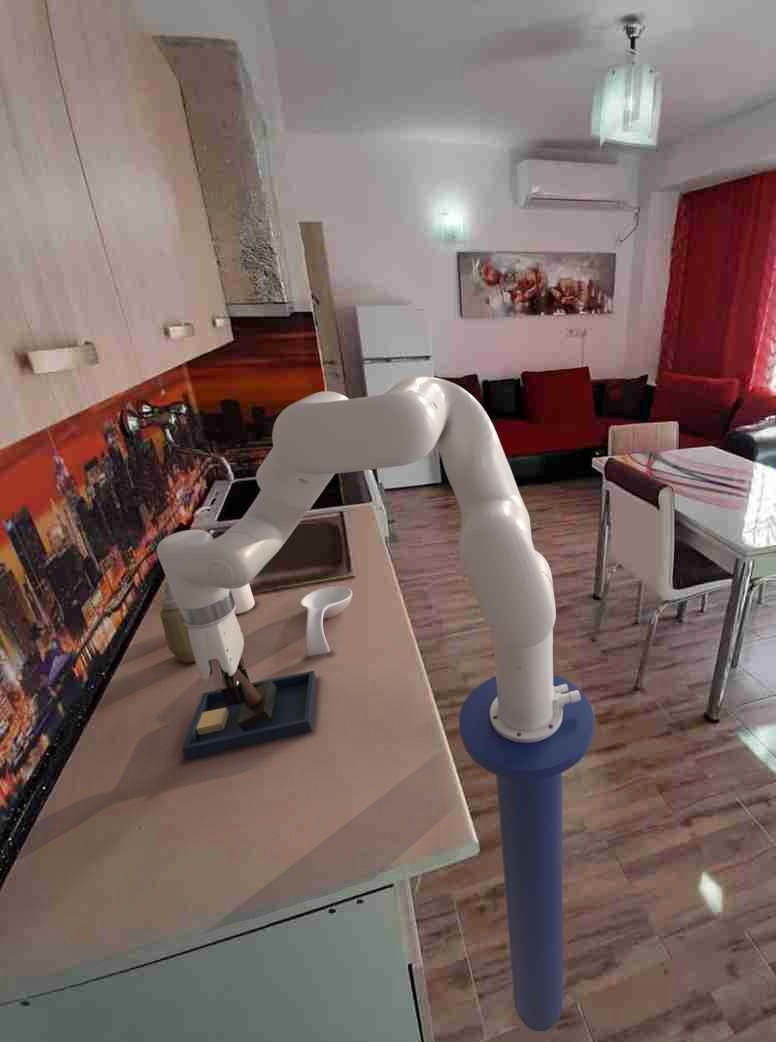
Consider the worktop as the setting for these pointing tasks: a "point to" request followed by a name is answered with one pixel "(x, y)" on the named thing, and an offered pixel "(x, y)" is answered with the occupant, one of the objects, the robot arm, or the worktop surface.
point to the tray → (286, 721)
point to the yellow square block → (212, 721)
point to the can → (242, 599)
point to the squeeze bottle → (175, 628)
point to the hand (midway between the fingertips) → (239, 695)
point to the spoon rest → (322, 615)
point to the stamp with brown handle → (255, 702)
